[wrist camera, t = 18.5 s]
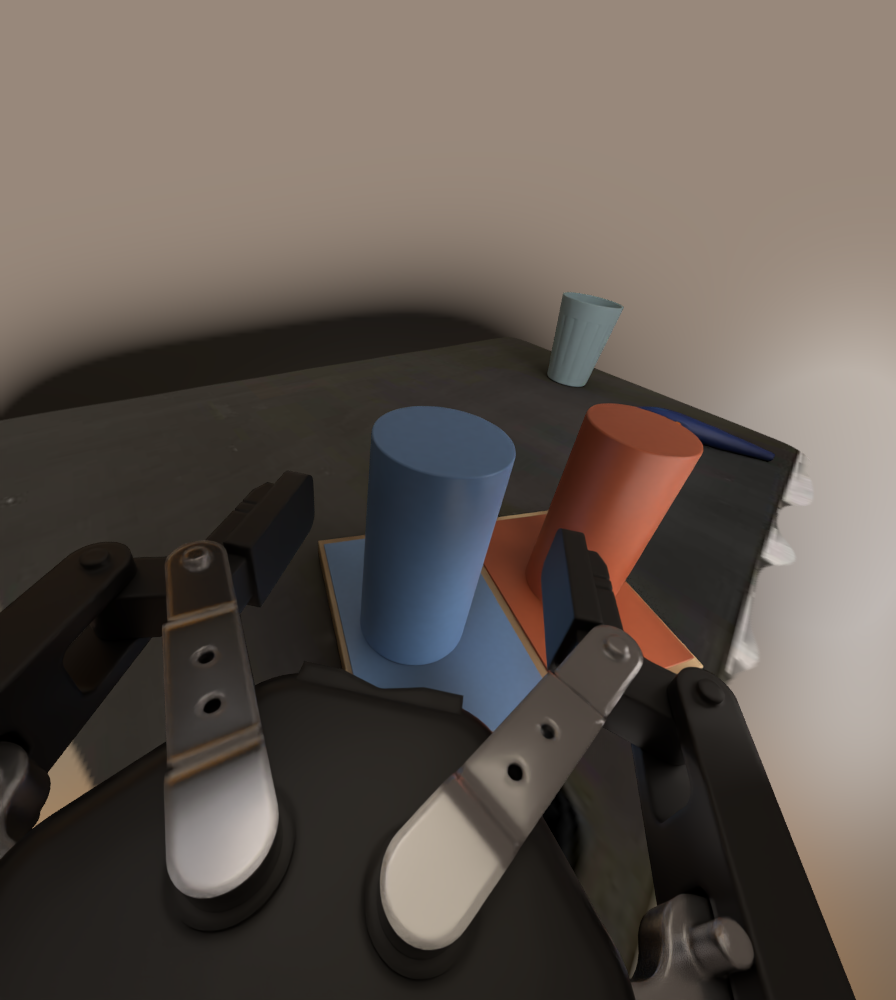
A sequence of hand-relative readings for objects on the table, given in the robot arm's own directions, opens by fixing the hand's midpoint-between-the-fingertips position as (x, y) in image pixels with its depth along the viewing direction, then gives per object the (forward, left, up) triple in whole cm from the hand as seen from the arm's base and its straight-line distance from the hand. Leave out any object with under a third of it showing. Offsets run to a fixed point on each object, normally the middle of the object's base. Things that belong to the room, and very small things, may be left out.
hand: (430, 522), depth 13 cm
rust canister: (+10, +2, -8) cm, 13 cm away
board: (+6, +2, -9) cm, 11 cm away
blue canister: (+1, +2, -8) cm, 8 cm away
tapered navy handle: (+41, +18, -9) cm, 46 cm away
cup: (+35, +36, -9) cm, 51 cm away
